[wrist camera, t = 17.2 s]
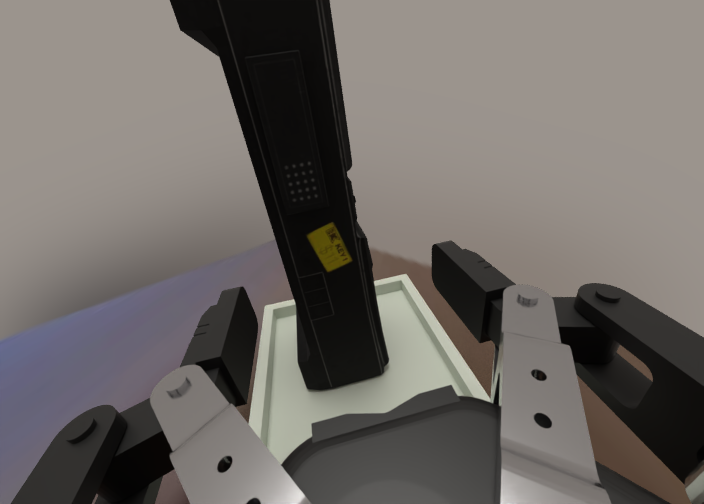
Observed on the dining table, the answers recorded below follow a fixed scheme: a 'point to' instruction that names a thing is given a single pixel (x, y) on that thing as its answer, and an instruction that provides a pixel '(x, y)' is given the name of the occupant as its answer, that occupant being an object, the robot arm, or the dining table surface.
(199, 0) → the portable radio
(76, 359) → the dining table surface
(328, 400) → the sage tray
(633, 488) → the robot arm
